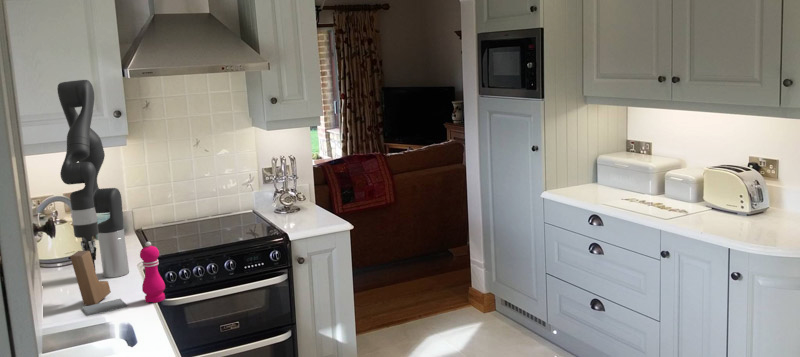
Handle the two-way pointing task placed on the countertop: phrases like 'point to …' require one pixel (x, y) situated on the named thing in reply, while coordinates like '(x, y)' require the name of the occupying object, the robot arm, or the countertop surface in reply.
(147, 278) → the pepper mill
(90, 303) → the wooden block
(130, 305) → the countertop surface
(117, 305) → the grey mat
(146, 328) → the countertop surface
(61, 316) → the countertop surface
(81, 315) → the countertop surface
